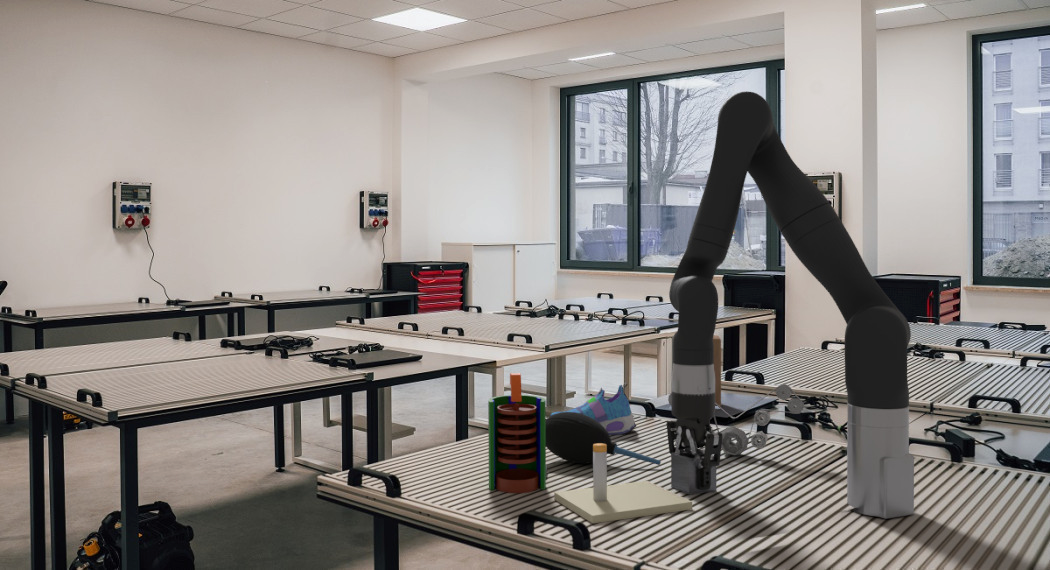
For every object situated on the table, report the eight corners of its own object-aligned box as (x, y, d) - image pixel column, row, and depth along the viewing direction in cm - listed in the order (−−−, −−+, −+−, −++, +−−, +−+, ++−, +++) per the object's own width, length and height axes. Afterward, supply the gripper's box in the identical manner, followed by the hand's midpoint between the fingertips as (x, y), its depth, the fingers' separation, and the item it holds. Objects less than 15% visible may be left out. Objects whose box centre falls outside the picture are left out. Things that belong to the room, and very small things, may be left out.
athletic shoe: (552, 444, 193) (542, 399, 192) (632, 425, 194) (623, 380, 194) (556, 452, 185) (546, 405, 185) (639, 432, 187) (630, 386, 186)
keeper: (692, 509, 132) (692, 446, 131) (592, 523, 125) (592, 457, 125) (647, 487, 145) (646, 430, 144) (554, 499, 138) (554, 439, 137)
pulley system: (804, 458, 166) (804, 384, 165) (802, 463, 161) (802, 387, 161) (670, 447, 176) (670, 377, 176) (665, 452, 172) (665, 380, 171)
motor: (494, 495, 141) (493, 379, 140) (483, 482, 149) (482, 372, 149) (550, 490, 143) (550, 376, 143) (536, 477, 152) (535, 370, 151)
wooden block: (721, 415, 213) (721, 338, 213) (682, 414, 215) (681, 338, 214) (719, 408, 223) (718, 335, 222) (681, 407, 225) (681, 334, 224)
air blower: (655, 475, 153) (655, 422, 153) (529, 464, 162) (529, 414, 162) (665, 463, 162) (665, 413, 162) (546, 454, 171) (545, 406, 171)
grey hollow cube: (716, 491, 142) (716, 456, 142) (689, 494, 140) (689, 459, 140) (697, 483, 147) (697, 449, 147) (671, 486, 145) (671, 453, 145)
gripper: (736, 393, 138) (736, 493, 138) (688, 382, 151) (688, 473, 152) (699, 396, 135) (699, 498, 136) (653, 385, 148) (653, 477, 149)
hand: (693, 484), depth 144 cm, fingers closed on grey hollow cube, 5 cm apart
